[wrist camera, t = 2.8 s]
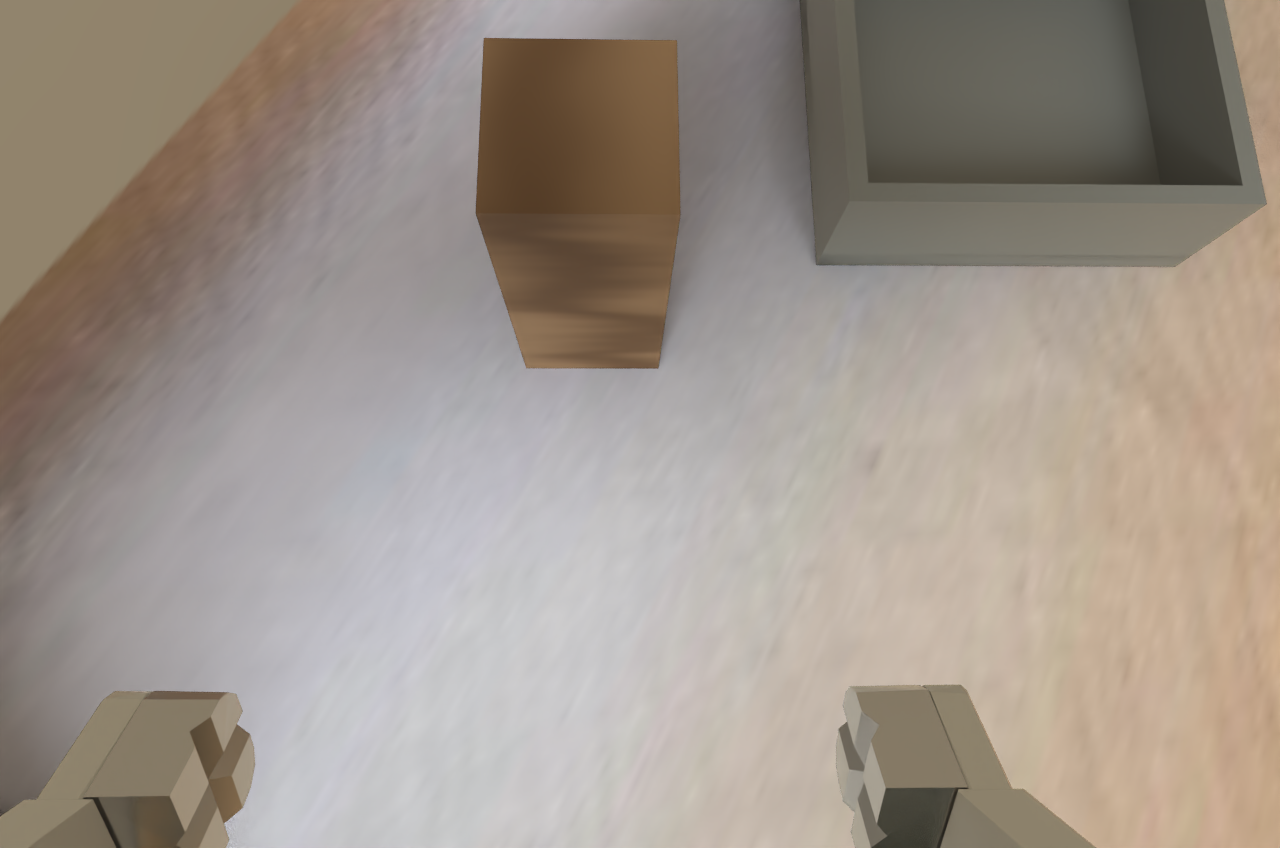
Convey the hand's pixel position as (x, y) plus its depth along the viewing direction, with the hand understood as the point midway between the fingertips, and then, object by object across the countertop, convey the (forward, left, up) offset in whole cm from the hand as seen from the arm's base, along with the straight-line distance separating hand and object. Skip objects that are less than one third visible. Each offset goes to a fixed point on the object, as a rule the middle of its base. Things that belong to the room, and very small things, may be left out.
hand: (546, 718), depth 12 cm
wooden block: (0, -14, -19) cm, 23 cm away
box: (-16, -23, -19) cm, 34 cm away
